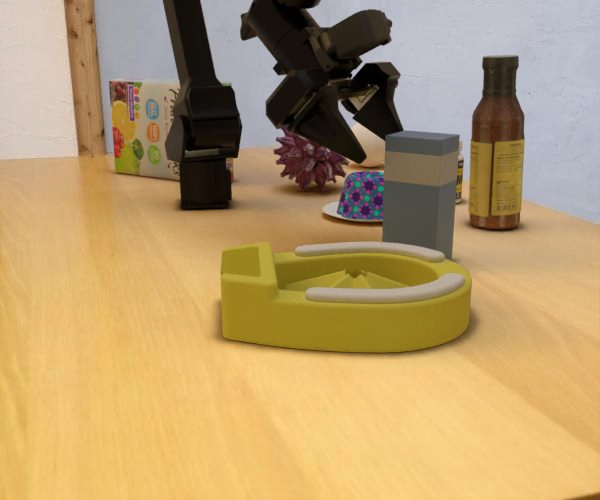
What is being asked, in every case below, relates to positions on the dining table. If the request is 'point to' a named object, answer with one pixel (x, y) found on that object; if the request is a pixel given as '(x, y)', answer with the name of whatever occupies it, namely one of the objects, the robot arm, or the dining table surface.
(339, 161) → the flower
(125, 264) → the dining table surface
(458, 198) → the supplement bottle
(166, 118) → the snack box
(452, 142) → the block
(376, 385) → the dining table surface
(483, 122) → the sauce bottle
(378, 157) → the ball
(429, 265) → the yellow curved tray
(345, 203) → the pudding
